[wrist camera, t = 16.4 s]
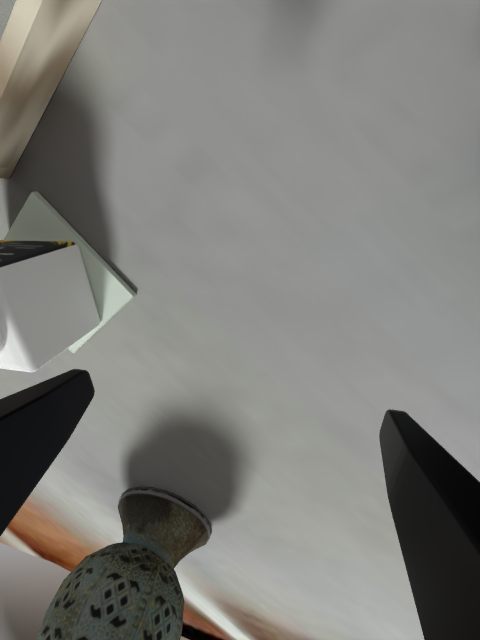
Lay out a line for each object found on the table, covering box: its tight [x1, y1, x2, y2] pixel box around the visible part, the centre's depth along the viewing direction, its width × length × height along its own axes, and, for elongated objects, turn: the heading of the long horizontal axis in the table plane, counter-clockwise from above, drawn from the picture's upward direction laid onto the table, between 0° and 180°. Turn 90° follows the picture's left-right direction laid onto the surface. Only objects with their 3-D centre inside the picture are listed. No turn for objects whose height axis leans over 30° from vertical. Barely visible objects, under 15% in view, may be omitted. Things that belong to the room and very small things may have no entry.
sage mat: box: [4, 191, 136, 353], centre depth 24 cm, size 10×10×1 cm
